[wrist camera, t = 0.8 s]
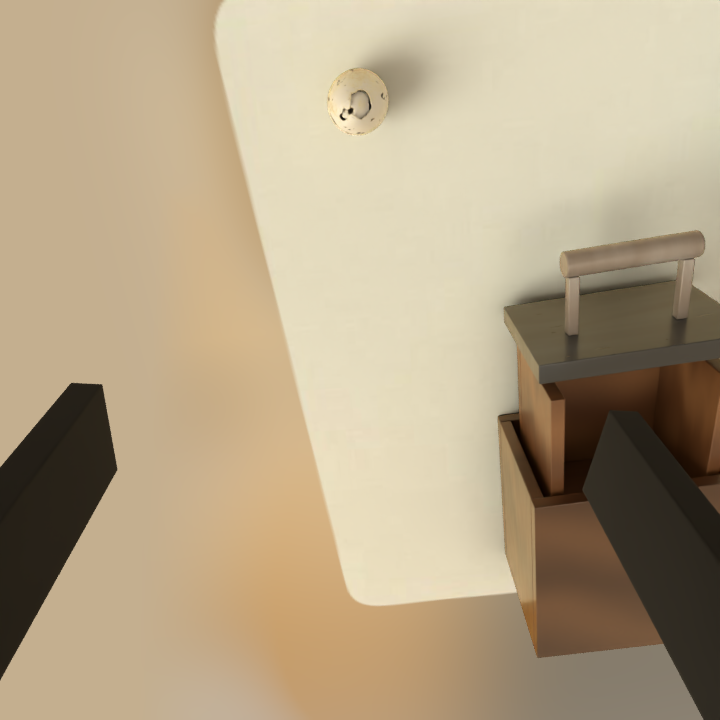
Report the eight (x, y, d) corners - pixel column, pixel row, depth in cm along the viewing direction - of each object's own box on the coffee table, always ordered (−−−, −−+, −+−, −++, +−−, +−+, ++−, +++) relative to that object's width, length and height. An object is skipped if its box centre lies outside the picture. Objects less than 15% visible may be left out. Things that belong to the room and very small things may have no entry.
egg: (390, 124, 32) (396, 136, 27) (334, 134, 32) (332, 147, 28) (382, 62, 30) (387, 64, 26) (323, 73, 30) (319, 77, 26)
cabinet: (497, 415, 42) (534, 508, 33) (671, 390, 41) (754, 479, 32) (505, 553, 48) (537, 658, 40) (653, 534, 48) (718, 637, 39)
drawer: (500, 233, 34) (537, 278, 27) (693, 201, 33) (782, 240, 26) (510, 467, 43) (540, 546, 36) (663, 446, 42) (723, 523, 35)
